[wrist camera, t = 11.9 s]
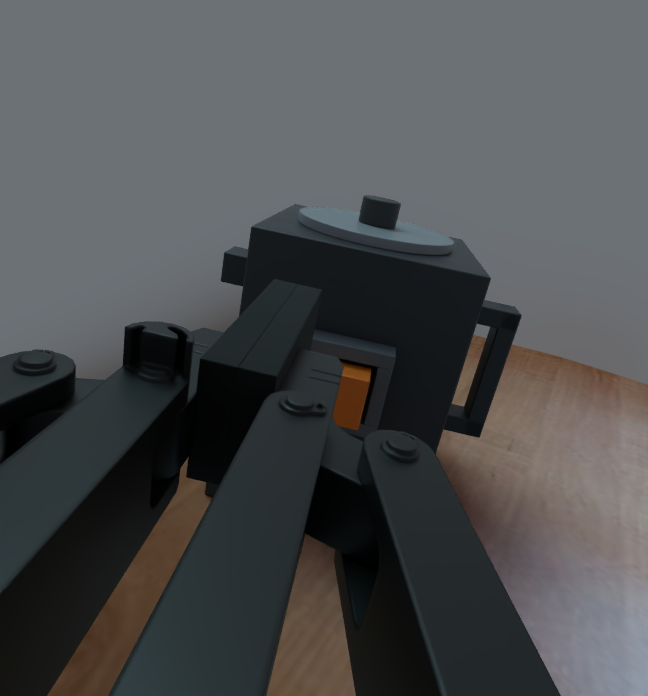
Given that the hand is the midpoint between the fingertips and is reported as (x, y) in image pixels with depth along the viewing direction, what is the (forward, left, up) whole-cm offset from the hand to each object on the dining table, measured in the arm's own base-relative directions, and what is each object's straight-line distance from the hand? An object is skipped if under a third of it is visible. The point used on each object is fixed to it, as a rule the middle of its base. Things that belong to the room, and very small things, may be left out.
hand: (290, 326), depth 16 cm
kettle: (+2, +19, -17) cm, 26 cm away
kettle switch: (+2, +11, -9) cm, 14 cm away
